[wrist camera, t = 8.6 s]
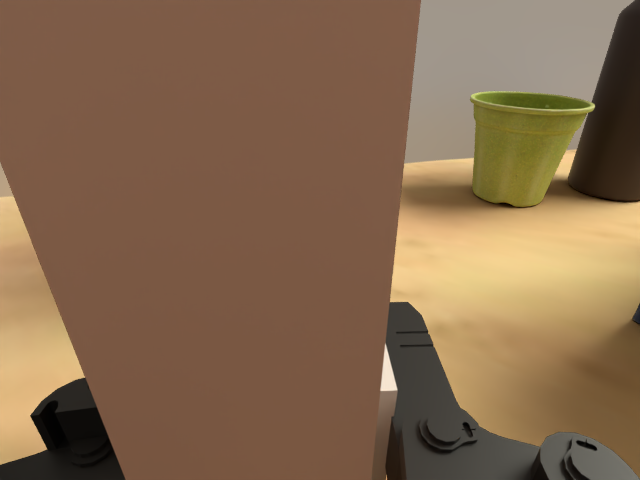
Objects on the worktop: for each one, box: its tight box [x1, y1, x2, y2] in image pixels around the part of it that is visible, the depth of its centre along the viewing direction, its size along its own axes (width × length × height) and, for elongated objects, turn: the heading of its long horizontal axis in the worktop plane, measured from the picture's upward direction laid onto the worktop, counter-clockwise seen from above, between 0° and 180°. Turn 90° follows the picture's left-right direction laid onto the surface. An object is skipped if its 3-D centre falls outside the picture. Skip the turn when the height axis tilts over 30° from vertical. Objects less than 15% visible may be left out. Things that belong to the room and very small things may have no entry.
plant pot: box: [470, 92, 595, 207], centre depth 35 cm, size 9×9×9 cm
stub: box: [0, 0, 421, 480], centre depth 9 cm, size 8×2×14 cm, turn 2°
